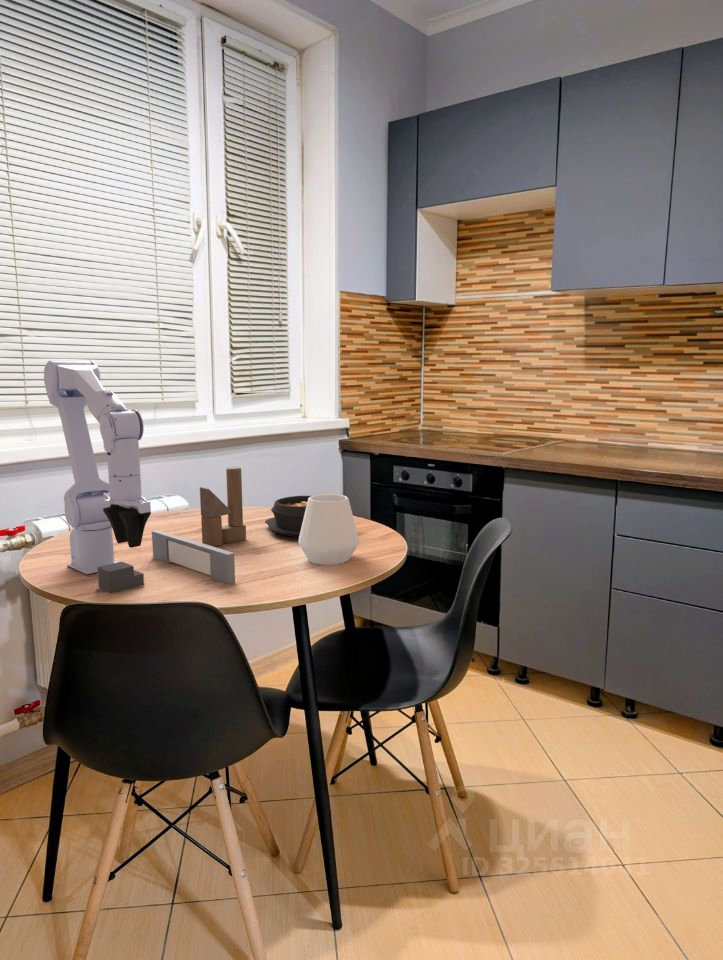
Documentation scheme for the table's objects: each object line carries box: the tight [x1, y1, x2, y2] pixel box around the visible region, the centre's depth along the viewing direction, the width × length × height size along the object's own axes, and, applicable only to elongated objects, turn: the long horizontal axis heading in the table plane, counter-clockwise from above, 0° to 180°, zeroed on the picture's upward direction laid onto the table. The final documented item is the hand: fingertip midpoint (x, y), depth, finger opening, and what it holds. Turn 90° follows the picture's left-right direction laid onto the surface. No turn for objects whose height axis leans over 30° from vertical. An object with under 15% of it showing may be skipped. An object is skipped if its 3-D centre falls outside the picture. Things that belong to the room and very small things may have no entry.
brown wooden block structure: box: [199, 466, 247, 547], centre depth 162 cm, size 4×11×18 cm, turn 138°
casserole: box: [264, 495, 312, 538], centre depth 173 cm, size 25×19×8 cm
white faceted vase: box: [297, 493, 360, 566], centre depth 148 cm, size 13×13×14 cm
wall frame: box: [151, 529, 236, 585], centre depth 142 cm, size 28×2×6 cm, turn 48°
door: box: [168, 540, 211, 576], centre depth 142 cm, size 15×1×5 cm, turn 48°
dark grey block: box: [97, 561, 145, 595], centre depth 130 cm, size 4×7×4 cm, turn 138°
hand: (128, 544), depth 129 cm, fingers open, 4 cm apart
